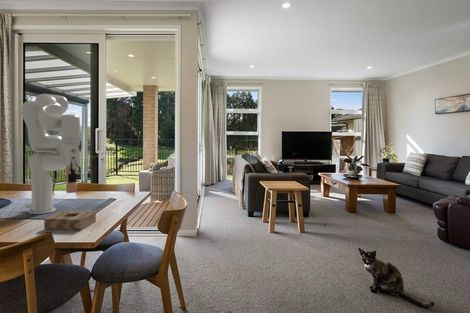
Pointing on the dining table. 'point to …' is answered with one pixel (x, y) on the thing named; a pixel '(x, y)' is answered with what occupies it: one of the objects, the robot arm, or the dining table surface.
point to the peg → (70, 186)
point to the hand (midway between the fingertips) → (71, 181)
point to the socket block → (70, 220)
